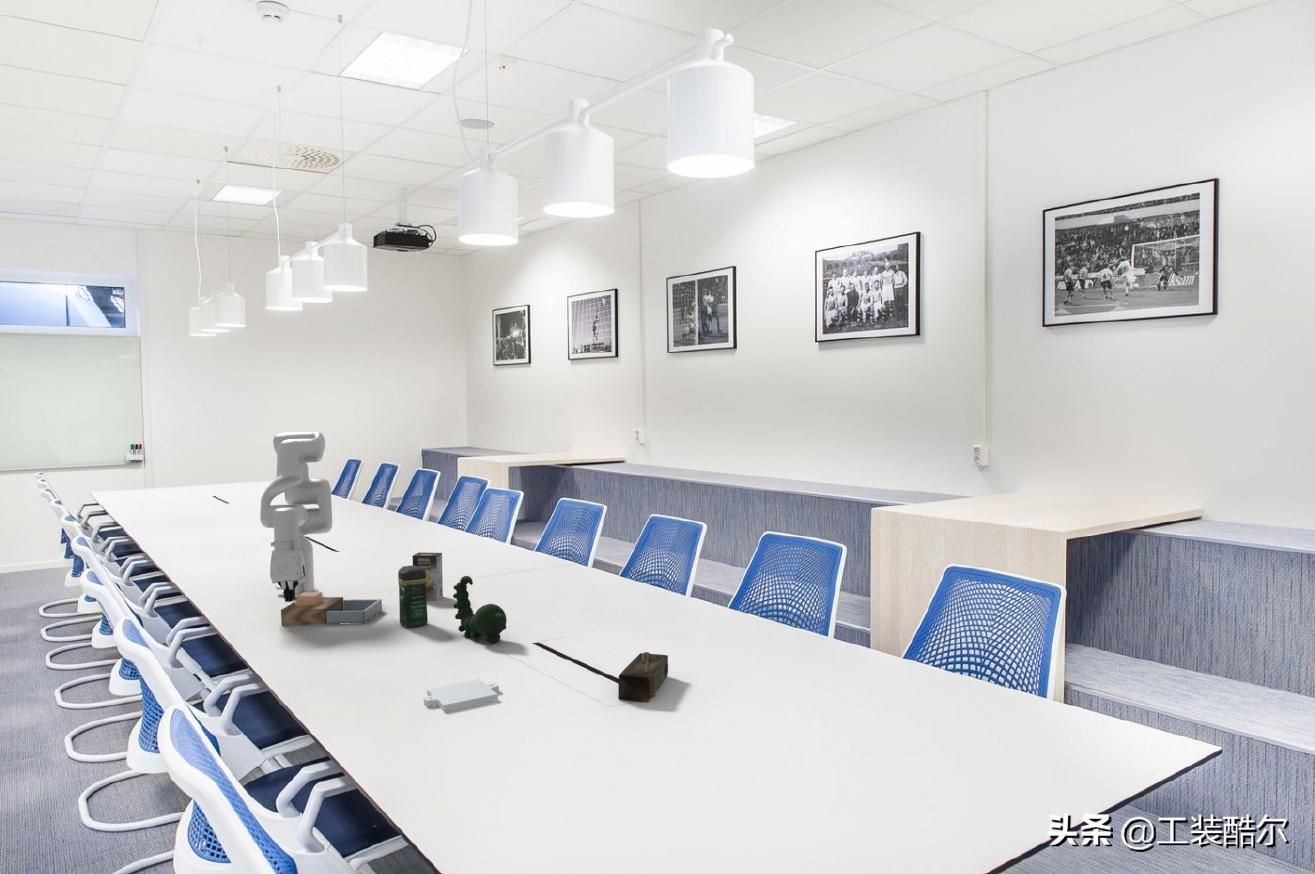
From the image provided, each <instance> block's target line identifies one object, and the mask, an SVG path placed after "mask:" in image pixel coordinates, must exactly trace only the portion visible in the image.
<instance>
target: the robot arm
mask: <svg viewBox="0 0 1315 874" xmlns="http://www.w3.org/2000/svg"><path fill="white" fill-rule="evenodd" d="M325 439H326V438H325V436H324V435H323V433H322V432H320V431H298V432H297V431H293V432H292V431H291V432H282V433H278V434H276V435H274V436H273V439H272V443H273V449H274V452H275V454H276V455H277V459H276V478H275V479H274V480H273V481H272V482H271V483H270V484H269V485H268V486H267V487H266V489H265V490H264V492H263V494H262V496H261V501H260V512H259V513H260V515H259V518H260V522H261V525H262V526H263V528H264V527H265V528H268V529H273V535H274V536H273V538H274V541H273V542H272V541H271V542H270V547H274V549H273V550H272V551H271V557H270V567H269V577H270V580H271V584H274V585H275V588H276V590H277V591H278V590H279V591H280V590H281V591H282V590H283V591H282V594H281V596H282V597H283V598H284V602H285V603H292V602H293V601H294V600H295V599H297V596H299V595H300V594H302V593H304V592H320V589H319V588H318V587H315V571H314V567H315V566H314V548H313V544H312V543H311V541H310V540H309V538H307V537H306V536H307V535H318V534H319V535H320V534H327V533H329V532H331V530H332V527H333V509H332V506H333V505H332V489H331V485H330V483H329V480H327V479H325V478H310V477H309V464H308V463H319V462H321V461H322V459H323V456H324V453H325V449H326V440H325ZM283 493H284V500H285V502H286V504H276V505H275V504H274V505H273V504H272V505H271V503H272V501H274V499H275V498H276V497H278V496H279V495H281V494H283ZM306 505H307V506H309V505H317V506H318V507H313V508H312V507H311V508H306V507H305V506H306Z"/></svg>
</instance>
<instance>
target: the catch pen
mask: <svg viewBox="0 0 1315 874" xmlns="http://www.w3.org/2000/svg"><path fill="white" fill-rule="evenodd" d="M343 604H344V610H343V611H327V612H326V618H327V622H326V623H325V624H324V625H341V624H340V623H366V622H367V623H369V622H370V621H371V620H373V619H374V618H375V617H376V616H378V615H379V614H380V613H382V612H383V601H382V599H381V598H380V599H378V598H377V599H375V598H373V599H343ZM381 611H382V612H381ZM377 614H378V615H377ZM372 618H373V619H372ZM370 619H371V620H370ZM369 620H370V621H369ZM368 621H369V622H368ZM367 623H366V624H367Z"/></svg>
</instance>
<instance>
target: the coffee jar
mask: <svg viewBox="0 0 1315 874" xmlns="http://www.w3.org/2000/svg"><path fill="white" fill-rule="evenodd" d="M397 573H398V576H397V579H398V580H397V582H398V592H399V593H398V594H399V595H398V596H399V598H398V599H399V600H398V601H399V604H398V605H399V623H400V625H401V626H403V627H405V628H421V627H422V626H426V625H427V624H428V622H429V621H428V603H427V602H428V600H427V594H426V571H425V570H424V569H422V568H419V567H416V566H415V565H413V564H412V565H404V566H402V567H400V569H398V572H397Z"/></svg>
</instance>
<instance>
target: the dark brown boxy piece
mask: <svg viewBox="0 0 1315 874" xmlns="http://www.w3.org/2000/svg"><path fill="white" fill-rule="evenodd" d="M668 675H669V656H668V654H659V653H650V652H649V651H644V652H641V653H639V654H638V655H637V656H636V657H635V658H634V659H633V660H632V661H631V662H630V663H629V664H628V665H627V666H625V668H624V669H623V670H622V671H621V672H620V674H619V675H618V684H617V685H618V687H617V689H618V700H619V701H630V702H640V703H649V702H650V700H652V699H653V697H654V696H655V694H656V693H657V691H658V690H659V689H660V688H661V686H662V685H663V684H664V682H665V681H666V679H667V678H668Z"/></svg>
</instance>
